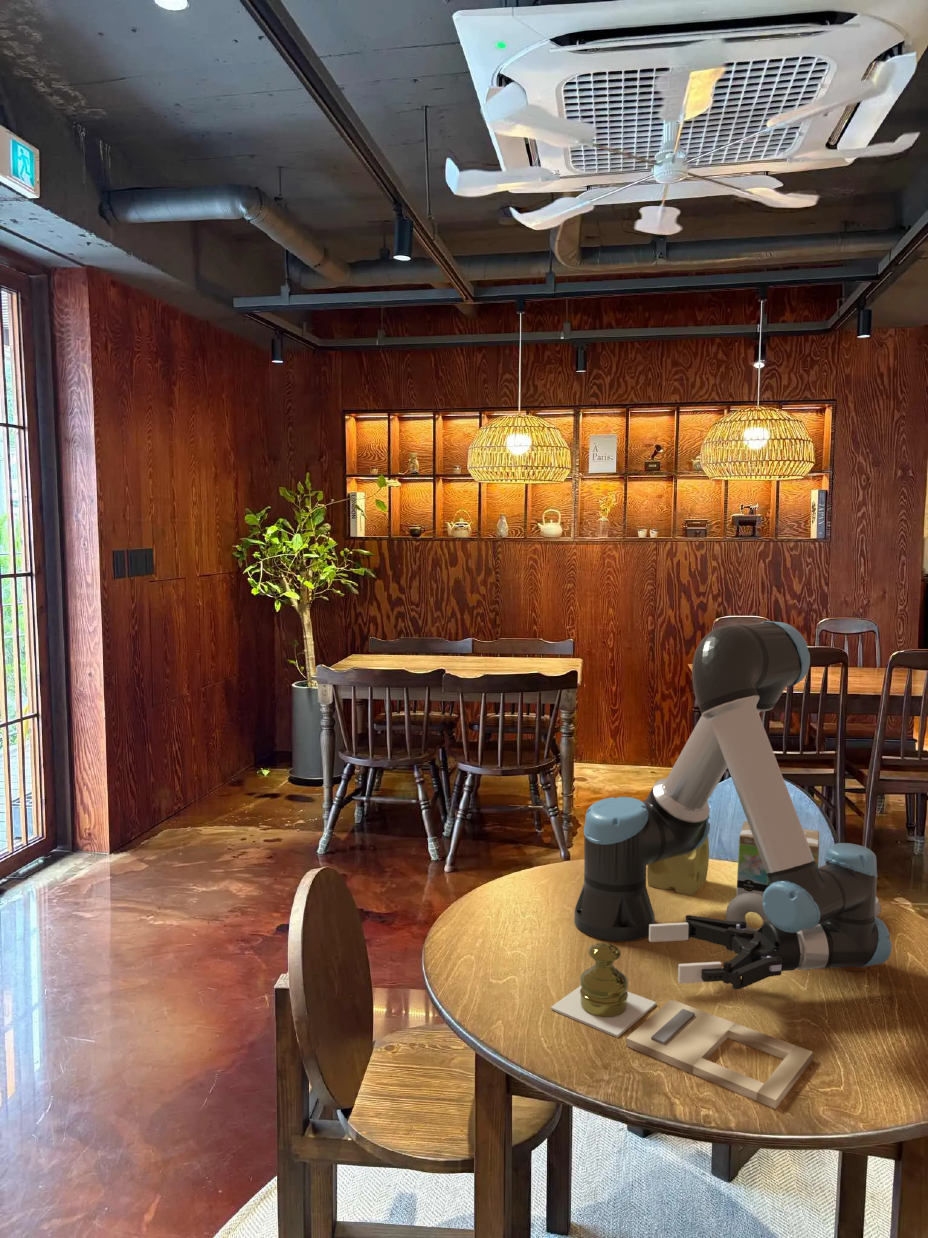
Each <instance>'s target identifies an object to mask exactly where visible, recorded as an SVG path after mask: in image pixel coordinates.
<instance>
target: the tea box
mask: <svg viewBox="0 0 928 1238" xmlns="http://www.w3.org/2000/svg"><path fill="white" fill-rule="evenodd" d="M741 827H742V828H741V830H740V834H739V838H738V856H737V857H738V858H737V873H736V874H737V877H736V878H737V880H736V896H738V895H740V894H744V893H756V894H759V895H762V896H763V894H764V891H765V890H766V888H767V887H768V886H770V882H769V879H768V876H767V873H766V870H765V868H764V865H763V862H762V859H761V857H760V854H759V851H758V849H757V846H756V843H755V840H754V838H753V835H752V832H751V829H750V827H749V824H748V821H747V820H746V821H745V820H744V821H743V824H742V826H741ZM802 829H803V831H804V834H805V837H806V839H807V842H808V845H809V847H810V850H811V852H812V855H813V858H814V860H815V863H816V865H817V868H818V867H819V862H820V861H819V858H820V856H819V855H820V831H819V830H814V829H807V828H802Z"/></svg>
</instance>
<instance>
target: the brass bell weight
mask: <svg viewBox="0 0 928 1238" xmlns="http://www.w3.org/2000/svg"><path fill="white" fill-rule="evenodd" d="M587 952H588V955H589V956H590V958H592V960H594V961H595V964H594V965H592V966H590V968H587V969H586V970H584V971H583V972H582V973H581V975H580V979H579V982H580V986H582V987H581V989H580V1003H581V1006H582V1007H583V1008H584V1009H585V1010H586V1011H587V1012H589V1013H591V1014H594V1015H597V1016H603V1017H610V1016H616V1015H619V1014H621V1013H623V1012H624V1011H625V1010H626V1008H627V997H628V993H627V990H628V986H629V981H628V978H627V976H626V975H625V974H624V973H623V972H622V971H620V970H619V969H618V968H617V967H615V965H614V962H615V961H617V960H619V958H620V957H621V956H622V954H621V953H622V952H621V949H619V948H618V947H617V946H615V945H613V944H612V943H608V942H605V941H603V942H599V943H594V944H593V945H591V946H589V947H588V951H587Z"/></svg>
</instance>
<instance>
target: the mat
mask: <svg viewBox="0 0 928 1238" xmlns="http://www.w3.org/2000/svg"><path fill="white" fill-rule="evenodd" d="M581 987H582V986H581V985H579V986H578V987H576V989H574V990H572V991H571V992H570V993H568V994H567V995H565V996H564V997H563V998H561V999H560V1000H559V1001H557V1002H555V1004H553V1005H551V1006H550V1009H552V1010H551V1011H553V1010H554V1011H553V1012H555V1011H556V1013H557V1012H558V1014H560V1015H563V1016H565V1017H566V1018H569V1019H572V1020H575V1021H577V1022H579V1023H581V1024H584V1025H586V1026H588V1027H590V1028H591V1027H592V1028H594V1029H596V1030H598V1031H600V1032H603V1033H605V1034H607V1035H610V1036H612V1037H614V1038H619V1037H621V1035H622V1034H624V1033H625V1032H627V1030H629V1029H630V1028H631V1027H632V1026H633V1025H634V1024H636V1023H637V1022H638V1021H639V1020H640V1019H642V1017H644V1016H645V1015H646V1014H647V1013H648V1012H649V1011H651V1010H653V1008H654V1007H655V1006H656V1005H657V1001H654V1000H651V999H649V998H646V997H645V996H644V997H643V996H641V995H639V994H635V993H633V992H630V991H627V990H626V991H627V993H628V997H627V1008H626V1010H625V1011H624V1012H623V1013H621V1014H619V1015H616V1016H610V1017H603V1016H597V1015H594V1014H591V1013H589V1012H587V1011H586V1010H585V1009H584V1008H583V1007H582V1006H581V1003H580V989H581Z"/></svg>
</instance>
